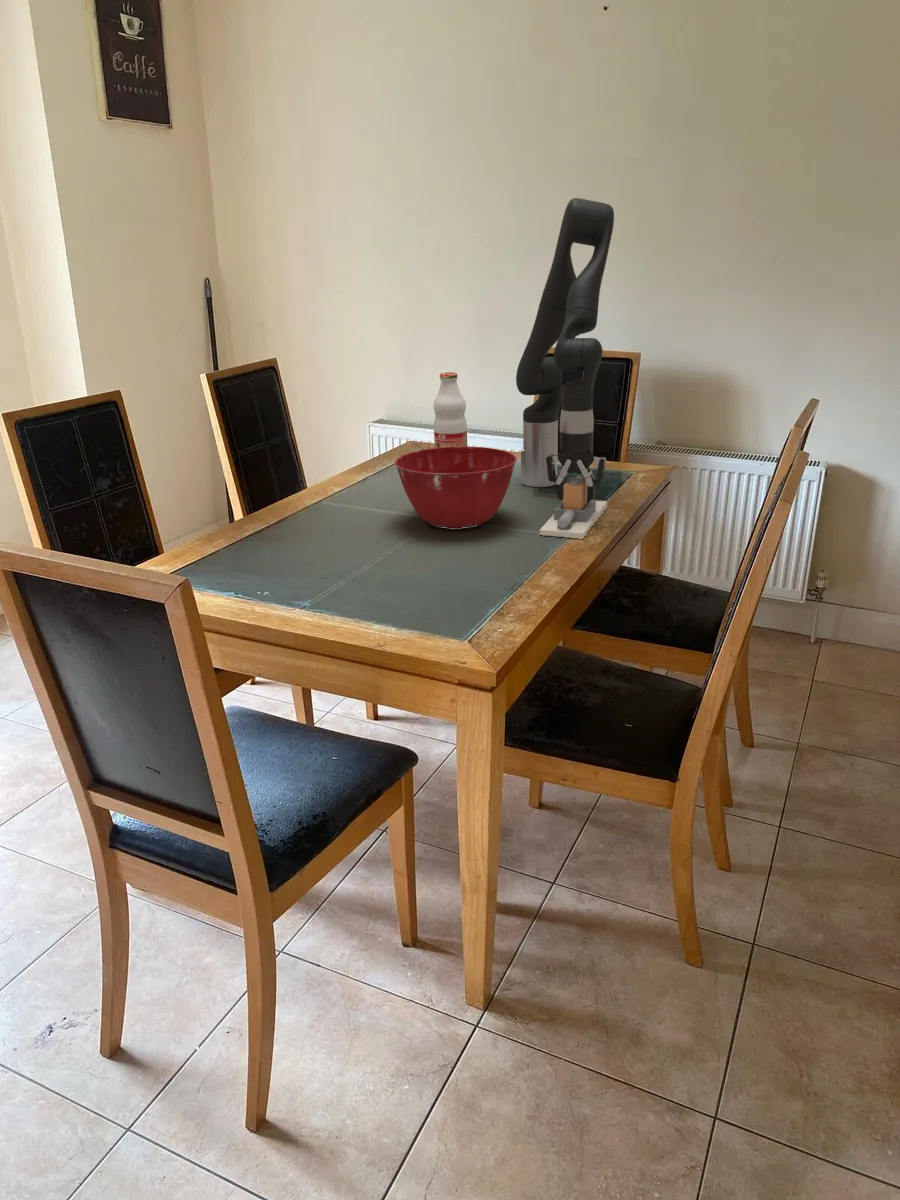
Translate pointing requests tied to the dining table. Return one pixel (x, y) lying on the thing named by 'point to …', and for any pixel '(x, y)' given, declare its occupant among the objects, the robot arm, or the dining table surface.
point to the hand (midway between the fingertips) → (575, 499)
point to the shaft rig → (573, 520)
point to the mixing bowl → (456, 483)
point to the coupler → (575, 493)
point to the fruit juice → (449, 413)
